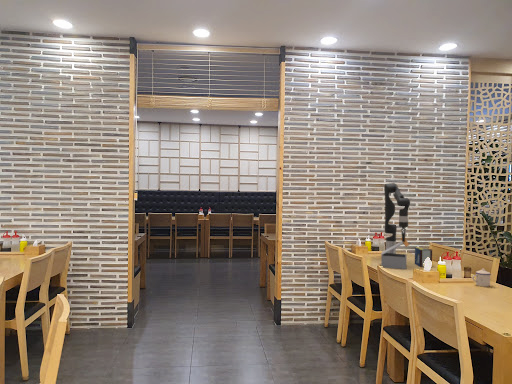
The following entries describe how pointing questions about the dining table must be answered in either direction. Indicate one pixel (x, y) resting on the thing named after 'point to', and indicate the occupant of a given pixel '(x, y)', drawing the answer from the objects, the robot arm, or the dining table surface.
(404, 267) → the carton
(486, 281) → the teacup with lid
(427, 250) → the protein box
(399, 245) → the carton lid
